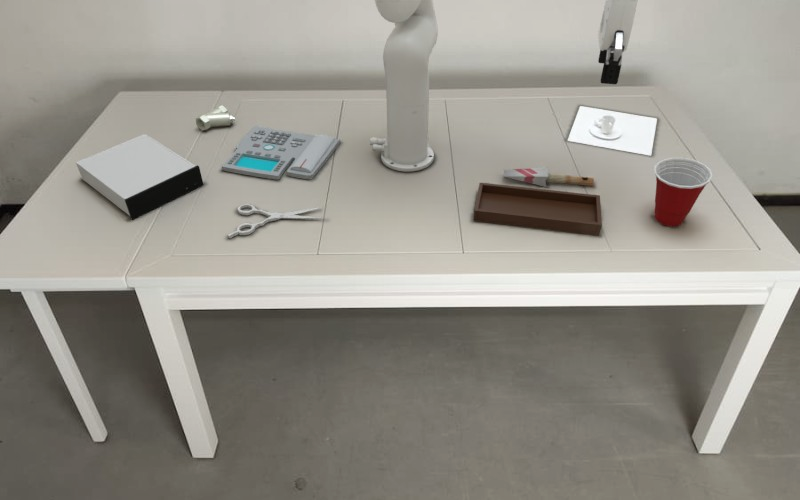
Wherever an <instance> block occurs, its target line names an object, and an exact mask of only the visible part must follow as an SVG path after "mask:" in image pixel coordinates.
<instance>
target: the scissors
mask: <svg viewBox="0 0 800 500" xmlns="http://www.w3.org/2000/svg"><path fill="white" fill-rule="evenodd" d="M245 208H246V209H247V208H250V209H249V210H242V209H245ZM322 208H323V206H321V207H314V208H305V209H299V210H294V211H288V212H272V211H265V210H264V209H257V208H256V206H254V205H253V204H249V203H243V204H241V205H239V206H238V207H237V212H238V214H239V215H243V216H250V215H252V214H261V215H263V216H265V217H266V218H265V219H264V220H262V221H259V222H254V223H250V222H244V223H241V224H240V225H238V226H237V228H236V230H234V231H233V232H230V233H228V234H227V237H228V239H232V238H233V237H235V236H238V235H240V236H247V235H250V234H252V233H254V232H255V231H256V229H258V228H259V227H263V226H264V225H266V224H267V223H269V222H274V221H278V220H280V219H293V220H294V219H297V220H298V219H300V220H301V219H303V220H304V219H317V220H321V217H320V216H308V215H299V214H304V213H306V212H307V213H308V212H310V211H314V210H318V209H322ZM245 228H249V229H248V230H242V229H245Z"/></svg>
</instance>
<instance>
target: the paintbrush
mask: <svg viewBox="0 0 800 500" xmlns="http://www.w3.org/2000/svg"><path fill="white" fill-rule="evenodd" d="M503 177H504V178H509V179H512V180H517V181H521V182H524V183H528V184H531V185H537V186H541V187H544V188H547V182H548V183H549V182H550V183H558V184H559V183H561V184H569V185H580V186H582V185H583V186H588V187H589V186H591V187H593V186H594V184H595V178H594V177H588V176H586V177H585V176H578V175H567V174H558V173H551V172H550V173H549V168H548V166H547V167H531V168H530V167H529V168H511V169H510V168H509V169H503Z"/></svg>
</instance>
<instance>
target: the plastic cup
mask: <svg viewBox="0 0 800 500" xmlns="http://www.w3.org/2000/svg"><path fill="white" fill-rule="evenodd" d="M653 171H654V176H655V179H656V180H655V182H656V183H655V184H656V185H655V197H654V219H655V220H656V222H657V223H659V224H661V225H663V226H666V227H672V228H673V227H679V226H681V225H682V224H683V223H684V221H686V218H687V216H688V215H689V214H690V212H691V211H692V209H693V207H694V205H695V203H696V202H697V200H698V198H699V196H700V195H701V194H702V192H703V191H704V189H705V187H706V186H707V185H708V184H709V183H710V181H711V180H712V178H713V173H712V170H711V168H710V167H708V166H707V165H706V164H704V163H703V162H701V161H698V160H696V159H693V158H692V159H691V158H688V157H676V156H675V157H668V158H664V159H661V160H660V161H657V162H656V164H655V165H654V167H653Z"/></svg>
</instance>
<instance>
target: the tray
mask: <svg viewBox="0 0 800 500" xmlns="http://www.w3.org/2000/svg"><path fill="white" fill-rule="evenodd" d="M475 199H476V200H475V204H474V209H473V222H479V223H488V224H495V225H502V226H503V225H504V226H513V227H521V228H530V229H539V230H545V231H554V232H555V231H556V232H564V233H572V234H580V235H581V234H582V235H589V236H597V237H599V236H600V234H601V230H602V227H603V218H602V205H601V204H602V203H601V195H600V194H590V193H582V192H571V191H564V190H563V191H561V190H554V189H543V188H535V187H528V186H527V187H525V186H516V185H507V184H498V183H489V182H479V183H478V189H477V194H476V198H475Z"/></svg>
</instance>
